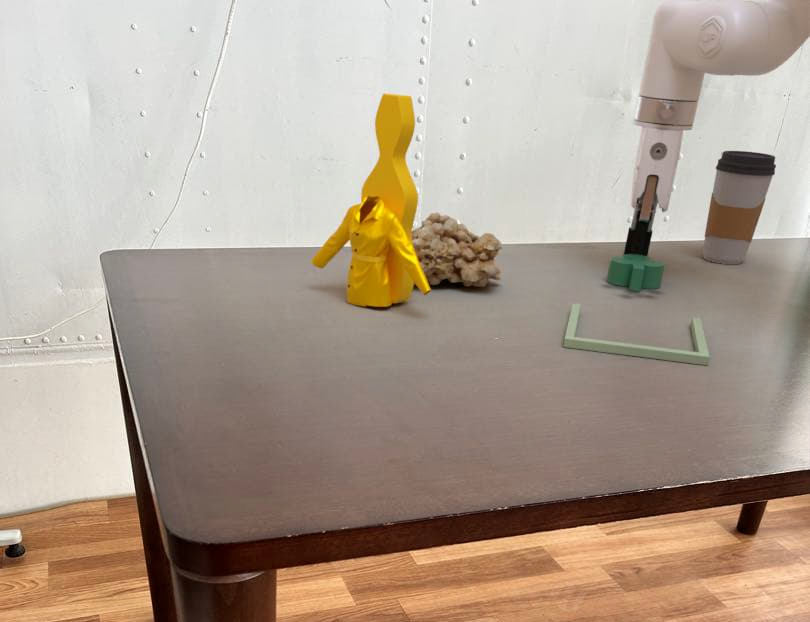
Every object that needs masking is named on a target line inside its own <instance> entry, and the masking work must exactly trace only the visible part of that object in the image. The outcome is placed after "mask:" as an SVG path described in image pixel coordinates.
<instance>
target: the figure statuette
mask: <svg viewBox="0 0 810 622" xmlns="http://www.w3.org/2000/svg"><path fill="white" fill-rule="evenodd" d="M377 108H378V109H377V110H376V115H375V120H374V129H375V136H376V141H377V146H378V152H379V156H378V160H377V161H376V164H375V166H374V167H373V169H372V170H371V172H370V174H369V175H368V176H367V178H366V179H365V181H364V183H363V185H362V188H361V193H360V194H361V195H360V199H361V201H360V203H358V204H353V205H351V206H350V207H348V209H347V211H346V213H345V215H344V217H343V219H342V222H341V223H340V224H339V226H338V227H337V229H336V231H334V232H333V233H332V234H331V235H330V236H329V238H327V240H326V241H325V243H324V244H323V245H322V247H320V249H319V250H318V252H317V253H316V254H315V255H314V256H313V258H312V259H311V261H310V263H311V264H312V265H313V266H314V267H316V268H318V269H322V270H323V269H324V268H325V267H326V266H327V265H328V264H329V263H330V261H331V260H332V259H333V258H335V256H337V254H338V253H339V252H340V251H341V250H342V249H343V248H344V247H345V245H347V243H350V248H351V256H352V257H351V260H350V264H349V268H348V273H347V281H346V302H347V303H349V304H351V305H355V306H359V307H365V308H366V307H379V308H380V307H382V308H383V307H391V306H392V304H398V303H404V302H407V301H408V300H409V299H410V298H411V297H412V294H413V293H412V292H413V290H414V286H416V287H417V288H418V290H420V292H421V294H423V295H424V296H426V295H428V294H429V293H430V292H431V291H432V288H431V286H430V284H428V281H427V279H426V276H425V274H424V272H423V269H422V267H421V265H420V262H419V260H418V257H417V255H416V252H415V250H414V247H413V242H412V231H413V225H414V221H415V218H416V214H417V209H418V203H419V193H418V190H417V187H416V185H415V182H414V179H413V178H412V175H411V173H410V171H409V167H408V165H407V159H406V158H407V157H406V155H407V153H408V149H409V147H410V145H411V142H412V140H413V137H414V134H415V128H416V118H415V111H414V105H413V99H412V97H411V95H404V94H403V95H401V94H396V93H383V94H382V96H381V98H380V102H379V104H378V107H377ZM414 283H415V284H416V285H414Z"/></svg>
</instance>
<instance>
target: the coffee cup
mask: <svg viewBox="0 0 810 622" xmlns="http://www.w3.org/2000/svg"><path fill="white" fill-rule="evenodd" d="M775 161H776V156H775V155H772V154H768V153H763V152H754V151H745V150H724V151H723V152H722V154H721V157H720V158H719V159H717V164H716V166H715V170H716V171H715V177H714V183H713V188H712V192H711V197H710V201H709V208H708V214H707V219H706V225H705V226H706V227H705V232H704V240H703V247H702V251H701V252H702V255H703V259H704V260H705V259H706V260H705V261H708V262H711V261H712V263H715V262H716V263H715V264H720V263H721V264H722V265H740V264H742V263H743V260H745V259H746V257H747V253H748V251H749V248H750V244H751V243H752V240H753V238H754V235H755V232H756V229H757V226H758V224H759V220H760V216H761V214H762V210H763V208H764V205H765V202H766V198H767V194H768V192H769V189H770V185H771V183H772V179H773V176H775V174H776V170H775V169H776V167H777V165H776V164H775ZM721 264H720V265H721Z"/></svg>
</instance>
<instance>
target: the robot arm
mask: <svg viewBox="0 0 810 622" xmlns="http://www.w3.org/2000/svg"><path fill="white" fill-rule="evenodd" d="M809 38H810V0H764V2H763V1H762V2H761V1H754V0H714V1H708V2H707V1H700V0H664V1H662V2H661V3H660V4H658V6H657V8H656V9H655V12H654V15H653V19H652V25H651V29H650V34H649V40H648V46H647V50H646V56H645V61H644V66H643V72H642V77H641V80H640V81H641V82H640V87H639V92H638V97H637V103H636V108H635V113H634V118H633V125H634V126H636V127H637V126H638V127H641V131H640V137H639V142H638V147H637V152H636V156H635V157H636V158H635V164H634V170H633V175H632V176H633V178H632V185H631V195H630V196H631V197H630V200H631V201H630V206H631V207H632V208H633V214H632V219H631V225H630V226H629V227H628V231H627V236H626V239H625V246H624V251H623V255H625V254H639V255H644V256H647V257H648V255H649V251H650V246H651V240H652V237H653V225H654V220H655V216H656V213H657V208H658V209H661V212H662V213H666V212H667V211H668V210H669V205H670V200H671V195H672V191H673V186H674V181H675V178H676V172H677V168H678V164H679V163H678V162H679V158H680V152H681V147H682V141H683V135H684V131H692V130H693V126H694V123H695V117H696V113H697V110H698V106H699V101H700V96H701V92H702V87H703V82H704V78H705V74H707V75H712V76H713V75H714V76H730V77H732V76H751V77H752V76H762V75H766V74H769V73H771V72H774V71H775V70H777V69H778V68H779V67H781V66H782V65H783V64H785V63H786V62H787V61H788V60H789V59H791V58H792V56H793V55H795V53H796V52H798V50H799V49H800V48H801V47H802V46H803V45H804V43H805V42H806V41H807V40H808V39H809Z"/></svg>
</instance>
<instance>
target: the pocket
mask: <svg viewBox="0 0 810 622" xmlns="http://www.w3.org/2000/svg"><path fill="white" fill-rule="evenodd" d="M581 308H582V304H581V303H572V305H571V309H570V314H569V318H568V323H567V326H566V331H565V335H564V338H563V339H564V340H563V345H562V347H563V348H567V349H574V350H583V351H591V352H599V353H606V354H615V355H621V356H630V357H637V358H646V359H652V360H660V361H661V360H662V361H668V362H669V361H670V362H677V363H685V364H693V365H699V366H708V365H709V361H710V352H709V348H708V343H707V340H706V335H705V331H704V327H703V322H702V318H700V317H694V316H692V317H691V320H690V324H689V326H690V330H691V331H690V332H691V336H692V343H693V346H694V351H691V350H683V349H674V348H667V347H660V346H659V347H658V346H652V345H651V346H650V345H643V344H635V343H627V342H619V341H611V340H602V339H597V338H596V339H595V338H588V337H579V336H576V332H577V328H578V323H579V318H580V314H581Z"/></svg>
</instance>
